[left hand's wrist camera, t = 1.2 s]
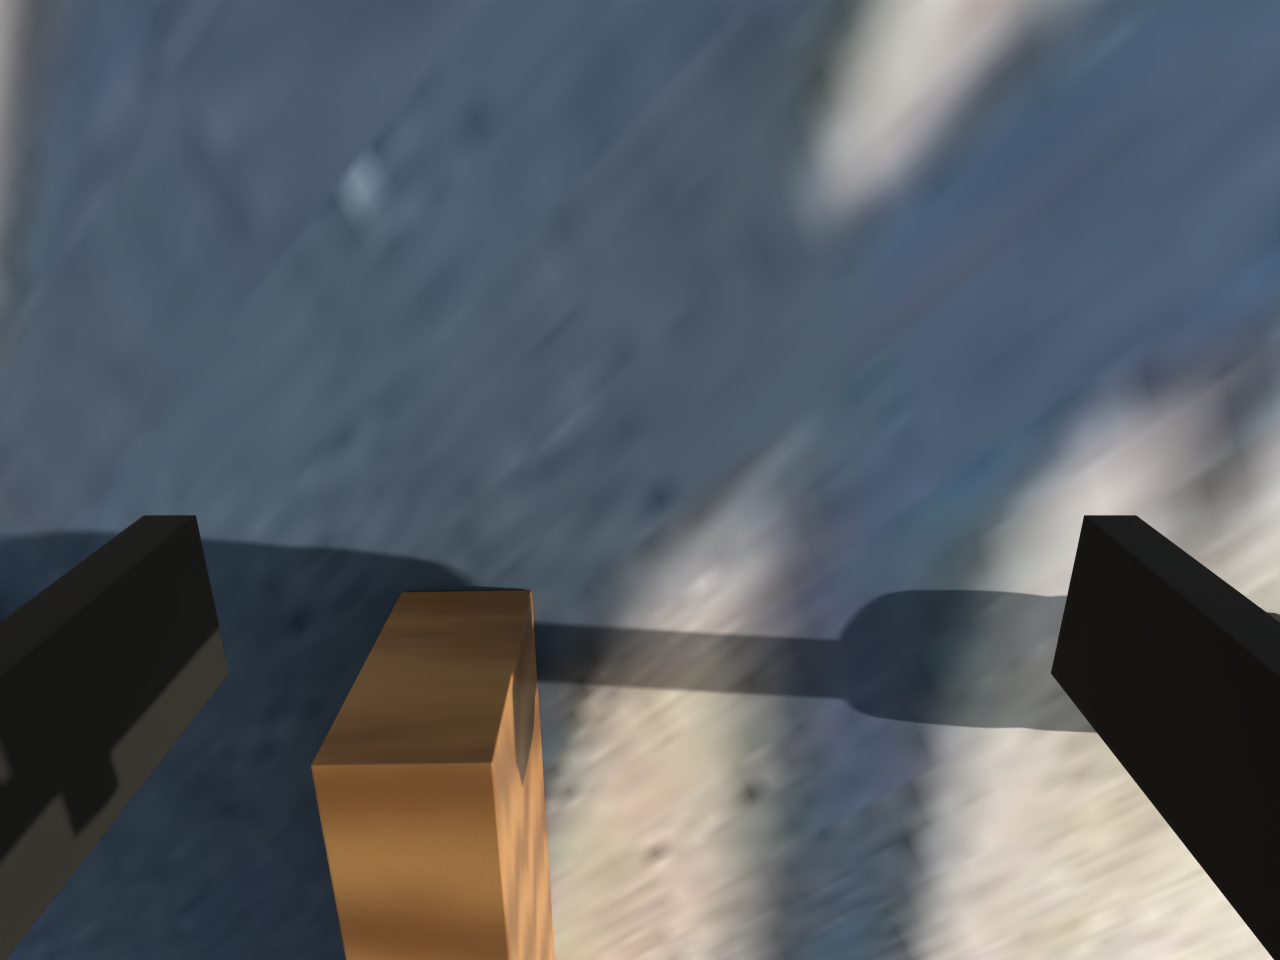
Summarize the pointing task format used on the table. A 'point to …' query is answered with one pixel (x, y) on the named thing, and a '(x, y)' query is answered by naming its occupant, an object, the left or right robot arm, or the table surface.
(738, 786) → the table surface
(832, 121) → the table surface
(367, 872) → the box
